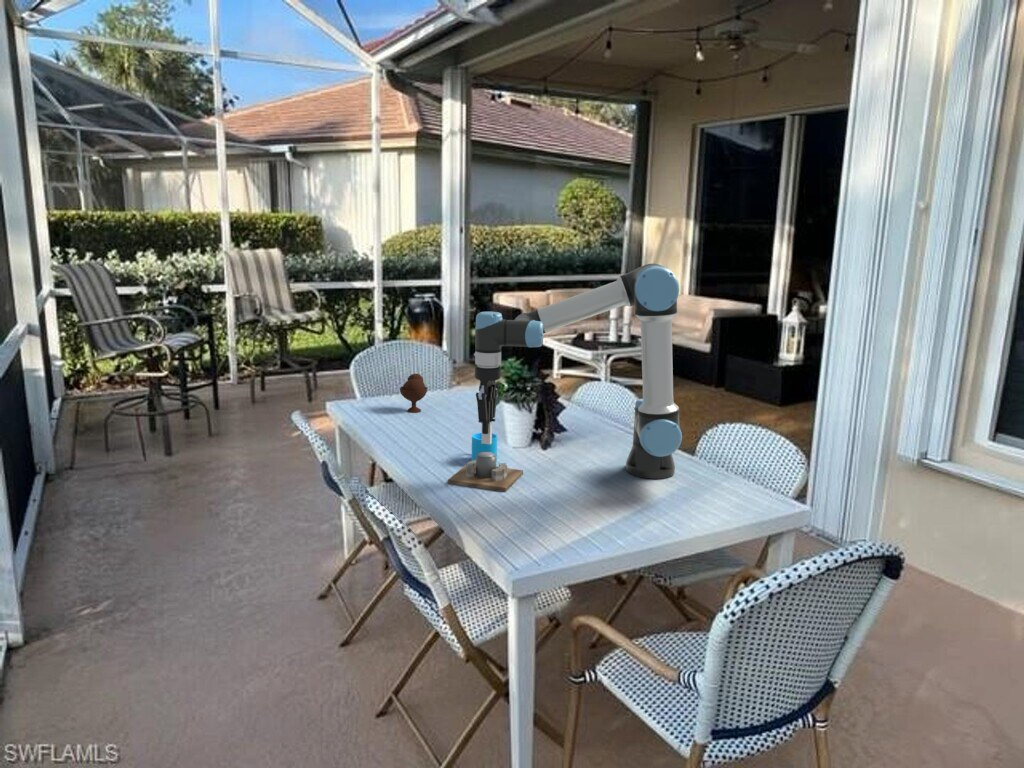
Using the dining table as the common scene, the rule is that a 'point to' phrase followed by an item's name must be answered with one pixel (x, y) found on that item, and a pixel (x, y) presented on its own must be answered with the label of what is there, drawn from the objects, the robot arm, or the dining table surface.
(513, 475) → the board
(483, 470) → the cap
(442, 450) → the dining table surface
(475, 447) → the mug
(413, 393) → the ice cream bowl
